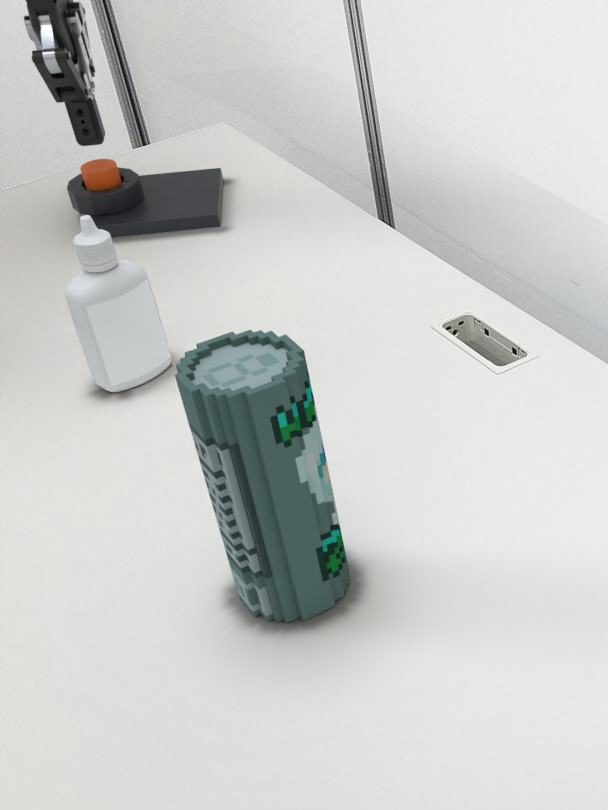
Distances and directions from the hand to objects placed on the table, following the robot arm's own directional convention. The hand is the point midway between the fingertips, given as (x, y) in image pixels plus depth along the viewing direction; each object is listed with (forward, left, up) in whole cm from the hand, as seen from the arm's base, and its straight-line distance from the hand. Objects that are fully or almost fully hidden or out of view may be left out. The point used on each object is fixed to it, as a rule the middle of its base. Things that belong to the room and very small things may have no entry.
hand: (92, 141), depth 105 cm
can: (+15, -54, -7) cm, 56 cm away
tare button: (0, 0, -4) cm, 4 cm away
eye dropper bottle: (+4, -28, -7) cm, 29 cm away
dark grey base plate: (+4, 0, -6) cm, 8 cm away
